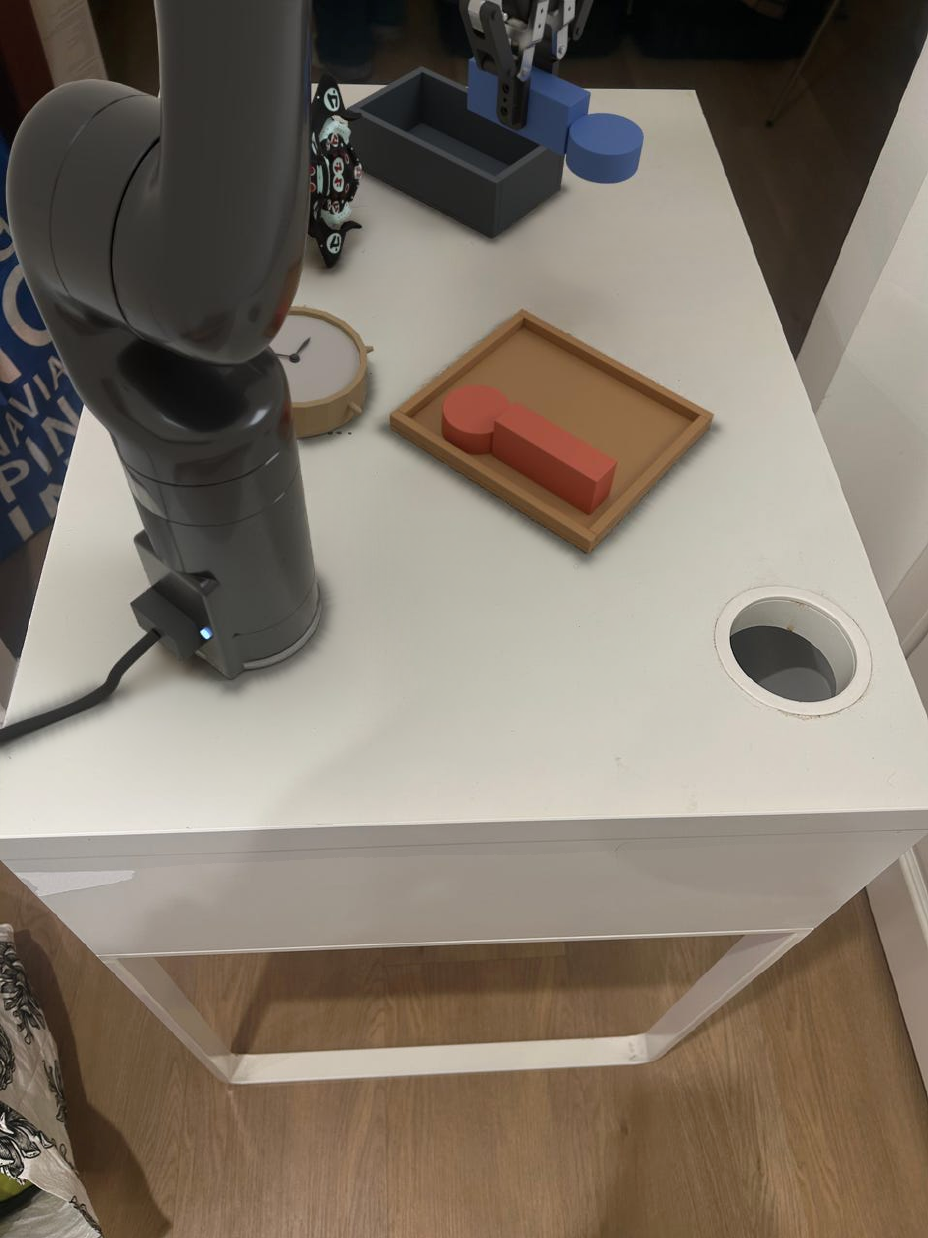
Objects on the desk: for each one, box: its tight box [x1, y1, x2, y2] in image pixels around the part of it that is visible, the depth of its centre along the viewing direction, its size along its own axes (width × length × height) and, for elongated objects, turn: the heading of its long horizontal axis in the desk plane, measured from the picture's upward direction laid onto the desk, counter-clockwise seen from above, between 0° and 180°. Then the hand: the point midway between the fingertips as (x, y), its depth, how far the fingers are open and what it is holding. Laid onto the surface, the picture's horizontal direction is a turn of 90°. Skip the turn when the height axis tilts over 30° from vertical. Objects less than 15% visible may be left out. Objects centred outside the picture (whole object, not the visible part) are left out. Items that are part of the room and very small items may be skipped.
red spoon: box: [442, 385, 617, 515], centre depth 71 cm, size 5×14×4 cm, turn 51°
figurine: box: [307, 70, 363, 269], centre depth 83 cm, size 10×15×14 cm
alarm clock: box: [269, 305, 375, 438], centre depth 75 cm, size 11×5×15 cm
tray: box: [389, 308, 715, 554], centre depth 75 cm, size 17×19×1 cm
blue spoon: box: [467, 56, 645, 185], centre depth 69 cm, size 5×14×4 cm, turn 50°
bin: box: [346, 65, 566, 239], centre depth 91 cm, size 11×18×5 cm, turn 51°
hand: (525, 115), depth 71 cm, fingers closed on blue spoon, 2 cm apart
